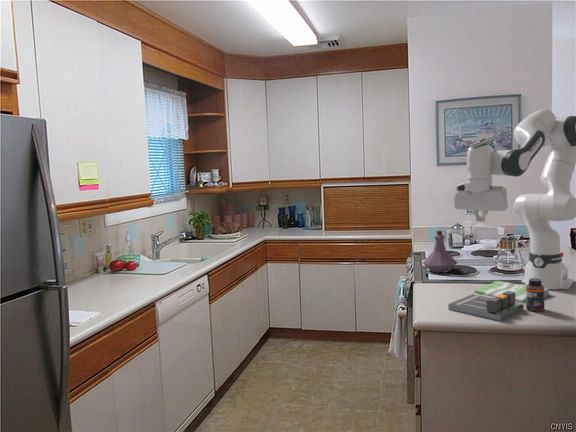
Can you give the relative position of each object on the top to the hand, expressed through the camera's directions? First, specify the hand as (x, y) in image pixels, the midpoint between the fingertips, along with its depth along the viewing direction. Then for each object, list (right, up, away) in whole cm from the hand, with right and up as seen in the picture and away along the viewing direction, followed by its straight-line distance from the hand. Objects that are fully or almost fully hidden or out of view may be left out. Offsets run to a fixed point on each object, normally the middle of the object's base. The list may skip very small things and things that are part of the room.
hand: (480, 221), depth 187 cm
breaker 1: (-2, -31, -17) cm, 36 cm away
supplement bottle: (+15, -32, -12) cm, 37 cm away
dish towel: (+16, -30, +9) cm, 35 cm away
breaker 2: (+6, -30, -10) cm, 32 cm away
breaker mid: (+2, -31, -14) cm, 33 cm away
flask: (+1, -25, +53) cm, 58 cm away
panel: (-2, -32, -9) cm, 34 cm away
